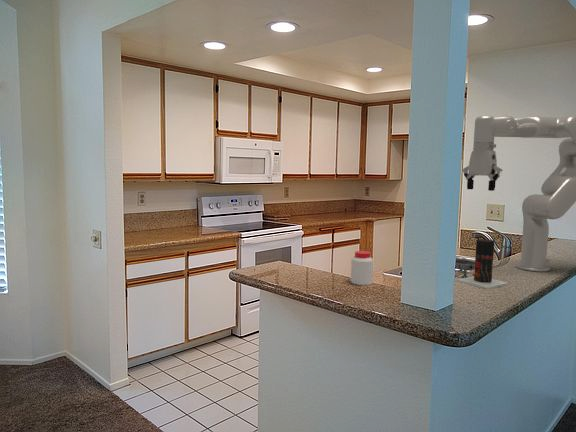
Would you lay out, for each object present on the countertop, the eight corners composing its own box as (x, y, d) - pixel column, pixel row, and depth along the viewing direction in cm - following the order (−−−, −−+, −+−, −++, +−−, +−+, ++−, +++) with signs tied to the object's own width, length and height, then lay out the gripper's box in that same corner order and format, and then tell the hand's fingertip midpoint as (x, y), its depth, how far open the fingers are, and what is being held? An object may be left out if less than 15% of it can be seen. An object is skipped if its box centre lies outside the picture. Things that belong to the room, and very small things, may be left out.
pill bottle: (359, 278, 165) (360, 249, 164) (376, 282, 160) (377, 252, 158) (346, 281, 160) (347, 252, 158) (363, 286, 154) (365, 255, 153)
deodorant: (493, 283, 158) (496, 242, 156) (475, 282, 159) (478, 241, 158) (489, 279, 164) (492, 239, 162) (472, 278, 165) (475, 238, 163)
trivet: (477, 277, 170) (478, 275, 170) (507, 284, 160) (507, 282, 160) (457, 281, 163) (458, 279, 163) (487, 289, 153) (487, 286, 153)
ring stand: (459, 270, 182) (460, 258, 181) (483, 276, 173) (484, 263, 172) (442, 273, 176) (443, 260, 175) (466, 279, 167) (466, 266, 166)
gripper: (509, 147, 172) (505, 191, 174) (470, 148, 187) (467, 188, 189) (497, 146, 168) (494, 191, 170) (459, 147, 183) (456, 188, 185)
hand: (480, 189), depth 180 cm, fingers open, 9 cm apart
